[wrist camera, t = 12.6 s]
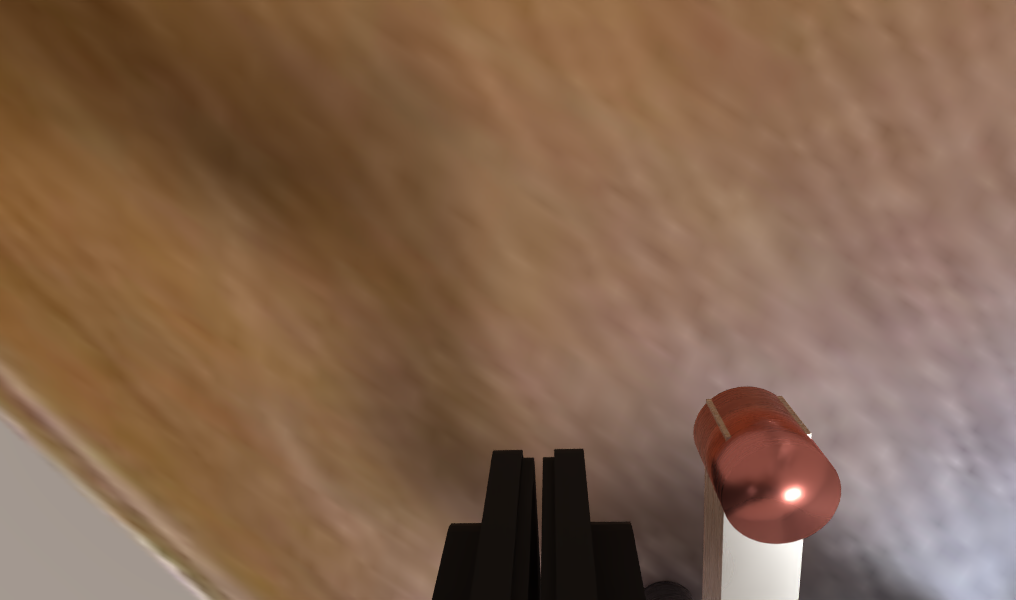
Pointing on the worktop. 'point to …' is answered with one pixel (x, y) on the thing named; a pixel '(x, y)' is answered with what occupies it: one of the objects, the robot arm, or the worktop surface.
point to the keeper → (667, 592)
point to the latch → (759, 494)
